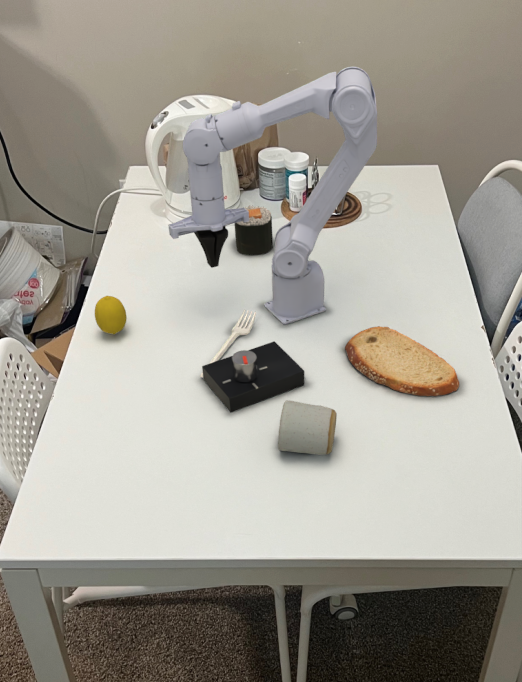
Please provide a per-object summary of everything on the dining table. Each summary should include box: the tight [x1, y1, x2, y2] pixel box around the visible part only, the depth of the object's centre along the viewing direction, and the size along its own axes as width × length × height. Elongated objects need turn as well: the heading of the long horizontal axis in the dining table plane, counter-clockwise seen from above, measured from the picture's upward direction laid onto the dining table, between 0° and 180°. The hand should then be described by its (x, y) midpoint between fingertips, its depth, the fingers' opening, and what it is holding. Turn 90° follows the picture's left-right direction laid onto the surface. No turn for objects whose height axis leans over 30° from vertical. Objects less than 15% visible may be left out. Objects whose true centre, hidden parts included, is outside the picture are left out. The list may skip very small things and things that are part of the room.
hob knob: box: [231, 349, 257, 382], centre depth 122 cm, size 4×4×4 cm
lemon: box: [94, 295, 128, 335], centre depth 135 cm, size 6×6×8 cm
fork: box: [199, 309, 257, 379], centre depth 133 cm, size 3×20×2 cm, turn 158°
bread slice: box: [344, 325, 460, 397], centre depth 128 cm, size 18×18×4 cm
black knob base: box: [201, 341, 305, 414], centre depth 125 cm, size 14×10×3 cm
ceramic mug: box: [277, 399, 338, 456], centre depth 113 cm, size 11×8×8 cm
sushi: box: [234, 205, 274, 256], centre depth 159 cm, size 8×8×8 cm
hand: (212, 264), depth 137 cm, fingers closed
